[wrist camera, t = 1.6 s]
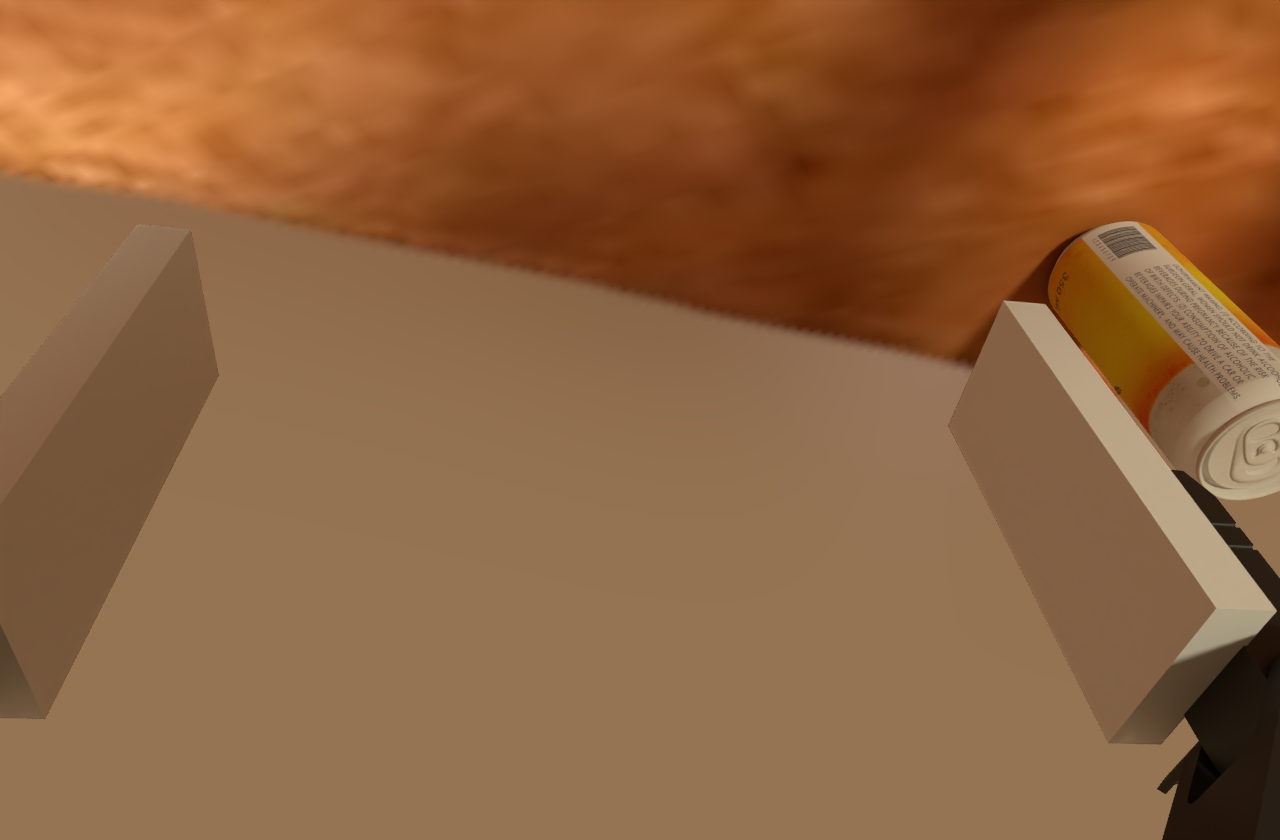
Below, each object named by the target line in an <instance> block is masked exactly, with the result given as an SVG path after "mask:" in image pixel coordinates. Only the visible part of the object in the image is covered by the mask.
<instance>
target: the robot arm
mask: <svg viewBox="0 0 1280 840" xmlns="http://www.w3.org/2000/svg"><path fill="white" fill-rule="evenodd" d="M218 376H219V374H218V369H217V364H216V359H215V353H214V348H213V343H212V337H211V332H210V327H209V322H208V317H207V312H206V306H205V301H204V295H203V290H202V285H201V280H200V275H199V269H198V264H197V259H196V254H195V248H194V243H193V238H192V232H191V229H185V228H174V227H163V226H151V225H140V224H137V225H136V227H135V228H134V229H133V230H132V232H131V233H130V234H129V235H128V237H127V238H126V239H125V241H124V242H123V243H122V244H121V246H120V247H119V248H118V249H117V251H116V252H115V253H114V254H113V256H112V257H111V258H110V259H109V261H108V262H107V263H106V264H105V266H104V267H103V268H102V270H101V271H100V272H99V273H98V275H97V276H96V277H95V278H94V280H93V281H92V282H91V283H90V285H89V286H88V287H87V288H86V290H85V291H84V292H83V293H82V295H81V296H80V297H79V299H78V300H77V301H76V302H75V304H74V305H73V306H72V307H71V309H70V310H69V311H68V312H67V314H66V315H65V316H64V317H63V319H62V320H61V321H60V322H59V324H58V325H57V326H56V328H55V329H54V330H53V332H52V333H51V334H50V335H49V336H48V338H47V339H46V340H45V341H44V343H43V344H42V345H41V346H40V348H39V349H38V350H37V352H36V353H35V354H34V355H33V357H32V358H31V359H30V360H29V362H28V363H27V364H26V366H25V367H24V368H23V369H22V371H21V372H20V373H19V374H18V376H17V377H16V378H15V379H14V380H13V382H12V383H11V385H10V386H9V387H8V388H7V389H6V391H5V392H4V393H3V394H2V396H1V397H0V718H29V719H30V718H31V719H45V718H46V716H47V714H48V712H49V710H50V708H51V706H52V704H53V702H54V700H55V698H56V696H57V694H58V692H59V690H60V688H61V686H62V684H63V682H64V680H65V678H66V676H67V675H68V673H69V671H70V669H71V667H72V665H73V663H74V661H75V659H76V657H77V654H78V653H79V651H80V649H81V647H82V645H83V643H84V641H85V639H86V637H87V635H88V633H89V631H90V629H91V627H92V625H93V623H94V621H95V619H96V617H97V615H98V613H99V611H100V609H101V607H102V605H103V603H104V601H105V599H106V597H107V595H108V593H109V591H110V589H111V587H112V585H113V583H114V581H115V580H116V577H117V575H118V574H119V572H120V570H121V567H122V566H123V564H124V562H125V559H126V558H127V556H128V554H129V552H130V550H131V548H132V546H133V544H134V542H135V540H136V538H137V536H138V534H139V532H140V530H141V528H142V526H143V524H144V522H145V520H146V518H147V516H148V514H149V512H150V510H151V508H152V506H153V504H154V502H155V500H156V498H157V496H158V494H159V492H160V490H161V488H162V486H163V484H164V482H165V481H166V478H167V477H168V475H169V473H170V471H171V469H172V467H173V465H174V462H175V461H176V458H177V457H178V455H179V453H180V451H181V449H182V447H183V445H184V443H185V441H186V439H187V437H188V435H189V433H190V431H191V429H192V427H193V425H194V423H195V421H196V419H197V417H198V414H199V413H200V411H201V409H202V407H203V405H204V403H205V401H206V399H207V397H208V395H209V393H210V391H211V389H212V387H213V385H214V384H215V382H216V380H217V378H218ZM949 428H950V430H951V432H952V434H953V436H954V438H955V440H956V442H957V444H958V446H959V448H960V450H961V452H962V454H963V456H964V458H965V459H966V461H967V464H968V465H969V467H970V470H971V472H972V474H973V476H974V478H975V480H976V482H977V483H978V485H979V487H980V490H981V492H982V494H983V495H984V497H985V499H986V501H987V503H988V505H989V507H990V509H991V511H992V513H993V515H994V517H995V519H996V521H997V523H998V525H999V527H1000V529H1001V531H1002V533H1003V535H1004V537H1005V539H1006V541H1007V543H1008V545H1009V547H1010V549H1011V551H1012V553H1013V555H1014V557H1015V559H1016V561H1017V563H1018V565H1019V567H1020V569H1021V571H1022V573H1023V575H1024V577H1025V579H1026V581H1027V583H1028V585H1029V587H1030V589H1031V591H1032V593H1033V595H1034V597H1035V599H1036V601H1037V603H1038V605H1039V607H1040V609H1041V611H1042V613H1043V615H1044V617H1045V619H1046V620H1047V622H1048V625H1049V627H1050V629H1051V631H1052V633H1053V635H1054V637H1055V639H1056V641H1057V643H1058V644H1059V647H1060V648H1061V651H1062V653H1063V655H1064V657H1065V658H1066V660H1067V662H1068V665H1069V666H1070V668H1071V670H1072V672H1073V674H1074V676H1075V678H1076V680H1077V682H1078V684H1079V686H1080V688H1081V690H1082V692H1083V694H1084V696H1085V698H1086V700H1087V702H1088V704H1089V706H1090V708H1091V710H1092V712H1093V714H1094V716H1095V718H1096V720H1097V722H1098V724H1099V726H1100V728H1101V730H1102V732H1103V734H1104V736H1105V738H1106V740H1107V742H1108V743H1125V744H1162V743H1163V742H1164V740H1165V739H1166V738H1167V737H1168V736H1169V735H1170V734H1171V732H1172V731H1173V730H1174V729H1175V728H1176V727H1177V725H1178V724H1179V723H1180V722H1181V721H1182V720H1183V719H1184V717H1185V718H1186V720H1187V721H1188V723H1189V725H1190V726H1191V728H1192V730H1193V732H1194V733H1195V735H1196V737H1197V738H1198V740H1199V741H1198V742H1197V744H1196V745H1195V746H1194V747H1193V748H1192V749H1191V750H1190V751H1189V752H1188V754H1187V755H1186V756H1185V757H1184V758H1183V759H1182V760H1181V761H1180V762H1179V763H1178V765H1176V767H1175V768H1174V769H1173V770H1172V771H1171V772H1170V773H1169V774H1168V775H1167V777H1166V778H1165V779H1164V780H1163V781H1162V783H1161V784H1160V786H1159V787H1158V788H1157V789H1158V790H1160V791H1161V792H1163V793H1165V794H1166V793H1167V792H1168V791H1169V790H1170V789H1171V788H1172V786H1173V785H1175V784H1178V786H1177V789H1176V793H1175V797H1174V800H1173V803H1172V807H1171V810H1170V814H1169V817H1168V821H1167V825H1166V828H1165V831H1164V835H1163V839H1162V840H1280V578H1279V577H1278V576H1277V575H1276V573H1275V572H1274V571H1273V569H1272V568H1271V567H1270V565H1269V564H1268V563H1267V562H1266V560H1265V559H1264V558H1263V557H1262V555H1261V554H1260V553H1259V551H1257V550H1253V548H1252V546H1253V544H1252V543H1251V541H1250V540H1249V539H1248V537H1247V536H1246V535H1245V534H1244V532H1243V531H1242V530H1241V529H1240V528H1236V527H1235V523H1236V522H1235V521H1234V520H1233V518H1232V517H1231V516H1230V514H1229V513H1228V512H1227V511H1226V509H1225V508H1224V507H1223V506H1222V504H1221V503H1220V502H1219V500H1218V499H1217V498H1216V497H1215V495H1213V494H1212V493H1211V492H1210V491H1208V490H1207V489H1206V488H1204V487H1203V486H1202V485H1201V484H1199V483H1198V482H1197V481H1196V480H1194V479H1193V478H1192V477H1190V476H1189V475H1188V474H1187V473H1185V472H1184V471H1179V470H1170V469H1169V467H1168V466H1167V465H1166V464H1165V462H1164V461H1163V459H1162V458H1161V457H1160V455H1159V454H1158V453H1157V451H1156V450H1155V449H1154V447H1153V446H1152V445H1151V443H1150V442H1149V441H1148V439H1147V438H1146V437H1145V435H1144V434H1143V433H1142V431H1141V430H1140V429H1139V427H1138V426H1137V425H1136V424H1135V422H1134V421H1133V420H1132V418H1131V417H1130V416H1129V414H1128V413H1127V412H1126V410H1125V409H1124V408H1123V406H1122V405H1121V404H1120V402H1119V401H1118V400H1117V398H1116V397H1115V396H1114V394H1113V393H1112V392H1111V390H1110V389H1109V388H1108V386H1107V385H1106V384H1105V382H1104V381H1103V380H1102V378H1101V377H1100V376H1099V374H1098V373H1097V372H1096V370H1095V369H1094V368H1093V367H1092V365H1091V364H1090V363H1089V361H1088V360H1087V359H1086V357H1085V356H1084V355H1083V353H1082V352H1081V351H1080V349H1079V348H1078V347H1077V345H1076V344H1075V343H1074V341H1073V340H1072V339H1071V337H1070V336H1069V335H1068V333H1067V332H1066V331H1065V329H1064V328H1063V327H1062V325H1061V324H1060V323H1059V321H1058V320H1057V319H1056V318H1055V316H1054V315H1053V314H1052V312H1051V311H1050V310H1049V308H1048V307H1047V306H1046V304H1038V303H1027V302H1015V301H1004V300H1003V302H1002V305H1001V307H1000V309H999V312H998V314H997V316H996V318H995V321H994V323H993V325H992V327H991V330H990V332H989V334H988V337H987V339H986V341H985V343H984V346H983V348H982V350H981V352H980V355H979V357H978V359H977V361H976V364H975V366H974V368H973V371H972V373H971V375H970V377H969V380H968V382H967V384H966V386H965V389H964V391H963V394H962V396H961V398H960V400H959V402H958V405H957V407H956V409H955V411H954V414H953V416H952V418H951V421H950V423H949Z"/></svg>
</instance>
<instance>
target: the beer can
mask: <svg viewBox="0 0 1280 840" xmlns="http://www.w3.org/2000/svg"><path fill="white" fill-rule="evenodd" d="M1048 296H1049V300H1050V303H1051V305H1052V307H1053V309H1054V310H1055V311H1056V313H1057V314H1058V315H1059V317H1060V318H1061V319H1062V321H1063V322H1064V323H1065V325H1066V326H1067V327H1068V328H1069V330H1070V331H1071V332H1072V334H1073V335H1074V336H1075V338H1076V339H1077V340H1078V342H1079V343H1080V344H1081V345H1082V347H1083V348H1084V349H1085V351H1086V352H1087V353H1088V355H1089V356H1090V357H1091V359H1092V360H1093V361H1094V363H1095V364H1096V365H1097V366H1098V368H1099V369H1100V370H1101V372H1102V373H1103V374H1104V376H1105V377H1106V378H1107V380H1108V381H1109V382H1110V383H1111V385H1112V386H1113V387H1114V389H1115V390H1116V391H1117V393H1118V394H1119V395H1120V397H1121V398H1122V399H1123V401H1124V402H1125V403H1126V404H1127V406H1128V407H1129V408H1130V410H1131V411H1132V412H1133V414H1134V415H1135V416H1136V418H1137V419H1138V420H1139V421H1140V423H1141V424H1142V425H1143V427H1144V428H1145V429H1146V431H1147V432H1148V433H1149V435H1150V436H1151V437H1152V439H1153V440H1154V441H1155V442H1156V444H1157V445H1158V446H1159V448H1160V449H1161V450H1162V452H1163V453H1164V454H1165V456H1166V457H1167V458H1168V460H1169V461H1170V462H1171V463H1172V465H1173V466H1174V467H1175V469H1176V470H1179V471H1184V472H1185V473H1187V474H1188V475H1189V476H1190V477H1192V478H1193V479H1194V480H1196V481H1197V482H1198V483H1199V484H1201V485H1202V486H1203V487H1204V488H1206V489H1207V490H1208V491H1210V492H1211V493H1212V494H1213V495H1215V497H1218V498H1221V499H1226V500H1249V499H1254V498H1259V497H1263V496H1267V495H1270V494H1272V493H1275V492H1278V491H1280V346H1279V345H1278V344H1277V343H1276V342H1275V341H1273V340H1272V339H1271V338H1270V337H1269V336H1268V335H1267V334H1266V333H1265V332H1264V331H1263V330H1262V329H1261V328H1260V327H1259V326H1258V325H1257V324H1255V323H1254V322H1253V321H1252V320H1251V319H1250V318H1249V317H1248V316H1247V315H1246V314H1245V313H1244V312H1243V311H1242V310H1241V309H1240V308H1239V307H1237V306H1236V305H1235V304H1234V303H1233V302H1232V301H1231V300H1230V299H1229V298H1228V297H1227V296H1226V295H1225V294H1224V293H1223V292H1222V291H1221V290H1220V289H1218V288H1217V287H1216V286H1215V285H1214V284H1213V283H1212V282H1211V281H1210V280H1209V279H1208V278H1207V277H1206V276H1205V275H1204V274H1203V273H1202V272H1200V271H1199V270H1198V269H1197V268H1196V267H1195V266H1194V265H1193V264H1192V263H1191V262H1190V261H1189V260H1188V259H1187V258H1186V257H1185V256H1184V255H1182V254H1181V253H1180V252H1179V251H1178V250H1177V249H1176V248H1175V247H1174V246H1173V245H1172V244H1171V243H1170V242H1169V241H1168V240H1167V239H1166V238H1164V237H1163V236H1162V235H1161V234H1160V233H1159V232H1158V231H1157V230H1156V229H1154V228H1153V227H1151V226H1149V225H1147V224H1144V223H1140V222H1132V221H1125V222H1116V223H1112V224H1107V225H1103V226H1099V227H1096V228H1094V229H1091V230H1089V231H1087V232H1085V233H1084V234H1082V235H1080V236H1079V237H1078V238H1076V239H1075V240H1074V241H1073V242H1071V243H1070V244H1069V245H1068V246H1067V247H1066V248H1065V250H1064V251H1063V252H1062V253H1061V255H1060V257H1059V258H1058V260H1057V262H1056V264H1055V266H1054V269H1053V271H1052V273H1051V276H1050V279H1049V284H1048Z"/></svg>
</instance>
